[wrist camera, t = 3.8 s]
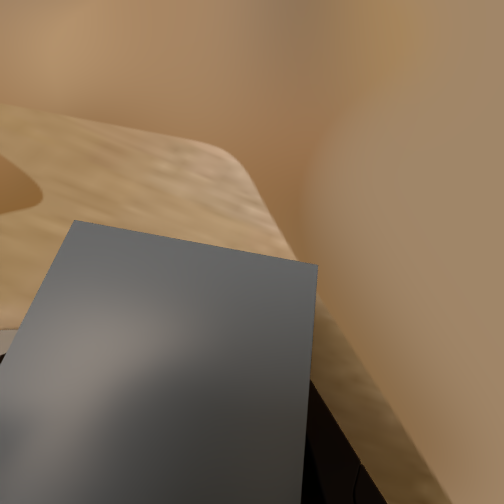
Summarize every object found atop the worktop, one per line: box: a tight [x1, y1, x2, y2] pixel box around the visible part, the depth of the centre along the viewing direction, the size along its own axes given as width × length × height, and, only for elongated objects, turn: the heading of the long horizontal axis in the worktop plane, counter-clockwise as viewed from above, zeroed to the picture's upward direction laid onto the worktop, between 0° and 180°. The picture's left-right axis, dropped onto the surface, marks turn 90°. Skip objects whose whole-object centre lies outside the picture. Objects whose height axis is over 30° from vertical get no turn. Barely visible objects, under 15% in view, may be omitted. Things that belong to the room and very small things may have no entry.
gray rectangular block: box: [0, 220, 318, 504], centre depth 10 cm, size 6×6×10 cm
